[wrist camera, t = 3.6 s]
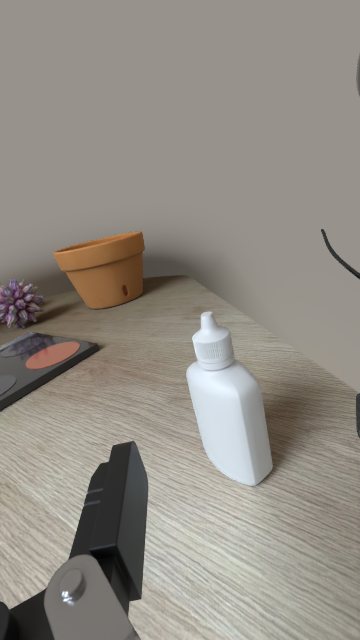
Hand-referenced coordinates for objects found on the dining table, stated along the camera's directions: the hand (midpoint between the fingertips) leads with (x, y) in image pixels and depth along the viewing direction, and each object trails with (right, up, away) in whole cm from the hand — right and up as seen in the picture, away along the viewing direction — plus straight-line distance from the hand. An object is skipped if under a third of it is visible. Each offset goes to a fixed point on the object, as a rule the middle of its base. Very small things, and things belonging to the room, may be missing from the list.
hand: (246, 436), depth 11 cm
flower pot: (-19, +9, +66) cm, 70 cm away
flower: (-39, +3, +62) cm, 74 cm away
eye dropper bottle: (+2, -7, +12) cm, 14 cm away
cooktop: (-30, -4, +38) cm, 48 cm away
